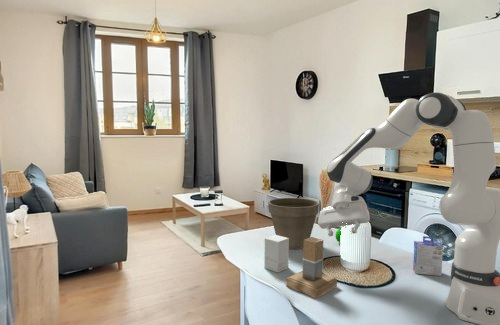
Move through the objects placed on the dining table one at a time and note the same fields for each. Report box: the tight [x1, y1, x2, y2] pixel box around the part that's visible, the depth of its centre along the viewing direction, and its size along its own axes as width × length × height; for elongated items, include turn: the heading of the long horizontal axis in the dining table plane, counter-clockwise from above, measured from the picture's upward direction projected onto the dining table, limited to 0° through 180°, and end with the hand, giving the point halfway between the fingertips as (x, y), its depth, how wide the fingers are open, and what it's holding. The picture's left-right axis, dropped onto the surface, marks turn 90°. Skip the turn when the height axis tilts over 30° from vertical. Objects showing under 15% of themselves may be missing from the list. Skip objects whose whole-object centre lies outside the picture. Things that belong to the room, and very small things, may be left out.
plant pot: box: [267, 197, 320, 250], centre depth 173 cm, size 25×25×22 cm
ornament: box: [335, 227, 342, 244], centre depth 176 cm, size 8×8×10 cm
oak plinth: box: [285, 270, 338, 299], centre depth 126 cm, size 13×13×3 cm
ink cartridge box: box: [412, 235, 444, 277], centre depth 141 cm, size 10×6×14 cm, turn 78°
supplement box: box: [263, 234, 290, 273], centre depth 143 cm, size 7×7×13 cm
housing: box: [301, 236, 324, 282], centre depth 126 cm, size 5×5×14 cm
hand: (342, 234), depth 133 cm, fingers open, 8 cm apart
